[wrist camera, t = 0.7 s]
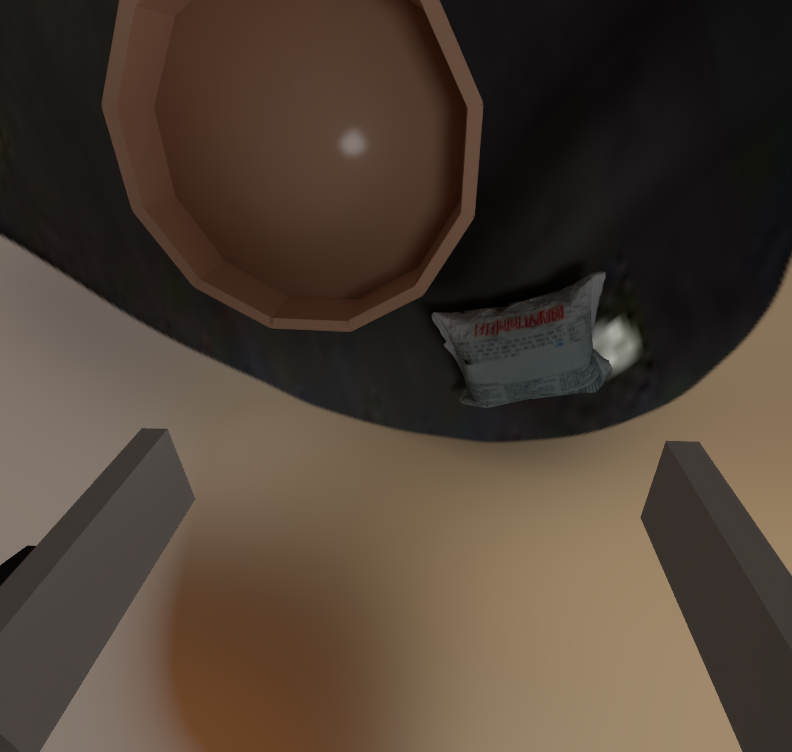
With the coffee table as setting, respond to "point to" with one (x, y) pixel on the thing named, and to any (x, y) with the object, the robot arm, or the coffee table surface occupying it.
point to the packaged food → (528, 346)
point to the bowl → (297, 149)
